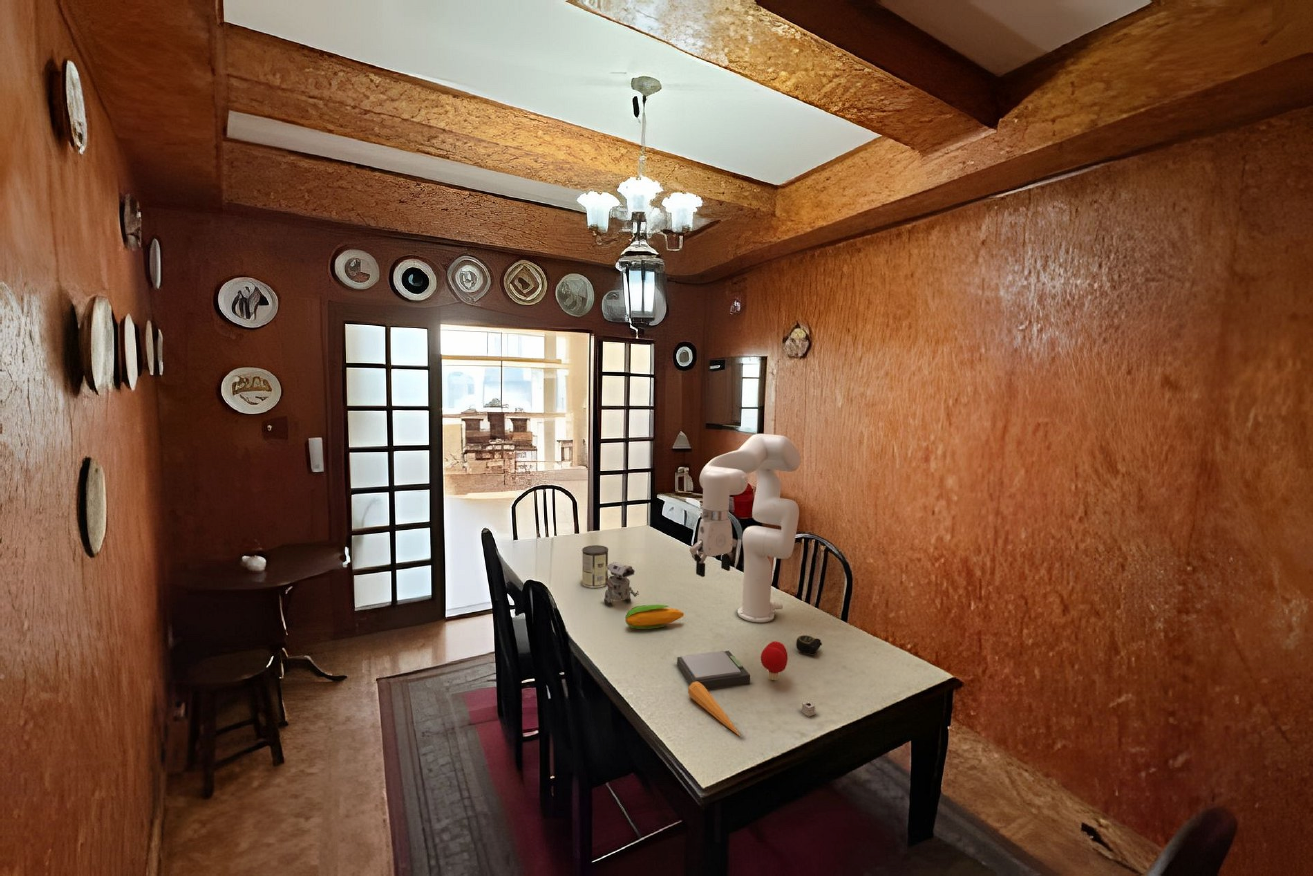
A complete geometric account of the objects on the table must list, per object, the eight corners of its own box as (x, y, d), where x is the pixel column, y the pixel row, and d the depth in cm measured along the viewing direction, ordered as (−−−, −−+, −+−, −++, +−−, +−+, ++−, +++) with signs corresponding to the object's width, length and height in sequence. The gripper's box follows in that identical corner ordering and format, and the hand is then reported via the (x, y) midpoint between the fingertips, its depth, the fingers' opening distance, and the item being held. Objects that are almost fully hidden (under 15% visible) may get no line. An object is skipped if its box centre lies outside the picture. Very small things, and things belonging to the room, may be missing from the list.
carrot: (687, 698, 144) (683, 685, 142) (701, 688, 146) (697, 675, 144) (735, 750, 127) (731, 736, 125) (750, 738, 129) (746, 724, 127)
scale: (728, 658, 164) (728, 648, 163) (749, 683, 150) (750, 672, 150) (677, 665, 159) (677, 654, 159) (694, 691, 146) (694, 679, 145)
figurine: (615, 613, 194) (616, 571, 192) (602, 601, 204) (602, 561, 202) (638, 608, 198) (639, 567, 197) (624, 597, 208) (625, 558, 207)
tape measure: (814, 659, 165) (815, 647, 164) (792, 652, 168) (793, 640, 168) (821, 650, 170) (822, 638, 170) (799, 643, 174) (800, 632, 174)
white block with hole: (801, 712, 138) (802, 702, 137) (808, 710, 139) (808, 700, 139) (808, 716, 136) (808, 707, 136) (814, 714, 137) (815, 704, 137)
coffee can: (592, 577, 228) (593, 543, 227) (613, 582, 223) (613, 548, 222) (576, 584, 220) (576, 549, 218) (596, 590, 214) (597, 554, 213)
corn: (623, 602, 184) (680, 597, 189) (622, 623, 185) (679, 618, 190) (628, 613, 176) (687, 607, 182) (627, 635, 178) (686, 628, 183)
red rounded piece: (779, 692, 146) (781, 655, 145) (754, 684, 150) (756, 648, 149) (791, 676, 154) (792, 642, 153) (767, 669, 158) (768, 635, 157)
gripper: (700, 521, 151) (698, 582, 153) (746, 513, 162) (743, 571, 163) (683, 515, 158) (681, 574, 159) (728, 508, 168) (726, 564, 169)
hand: (713, 572), depth 161 cm, fingers open, 9 cm apart
